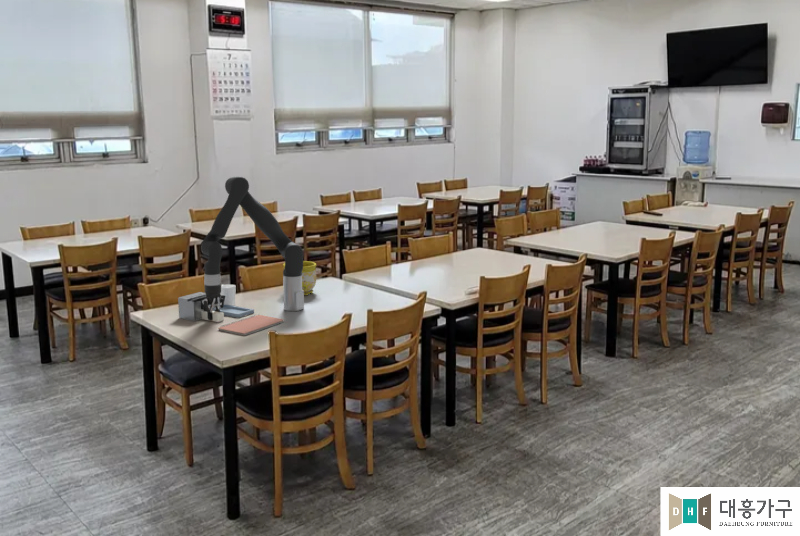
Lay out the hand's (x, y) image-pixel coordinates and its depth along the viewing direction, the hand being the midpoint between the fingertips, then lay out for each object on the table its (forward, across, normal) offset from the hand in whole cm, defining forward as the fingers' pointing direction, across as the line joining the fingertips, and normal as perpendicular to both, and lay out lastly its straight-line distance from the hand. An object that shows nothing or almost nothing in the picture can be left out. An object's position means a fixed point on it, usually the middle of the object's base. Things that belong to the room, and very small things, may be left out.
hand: (214, 318), depth 343 cm
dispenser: (+1, 0, +10) cm, 11 cm away
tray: (+1, +14, +2) cm, 14 cm away
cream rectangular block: (+1, 0, +2) cm, 3 cm away
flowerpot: (+1, +65, 0) cm, 65 cm away
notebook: (+1, +1, -22) cm, 22 cm away
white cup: (+1, +24, +14) cm, 28 cm away
